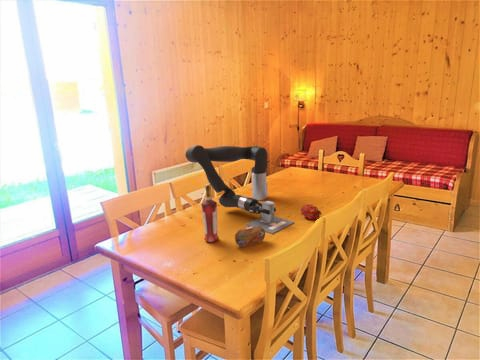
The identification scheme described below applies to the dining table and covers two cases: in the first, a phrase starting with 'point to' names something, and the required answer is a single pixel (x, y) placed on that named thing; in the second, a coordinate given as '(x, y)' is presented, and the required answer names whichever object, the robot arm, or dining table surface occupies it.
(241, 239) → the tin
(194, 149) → the robot arm
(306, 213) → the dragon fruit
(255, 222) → the letter board
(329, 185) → the dining table surface
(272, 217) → the grey block
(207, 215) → the liquor
